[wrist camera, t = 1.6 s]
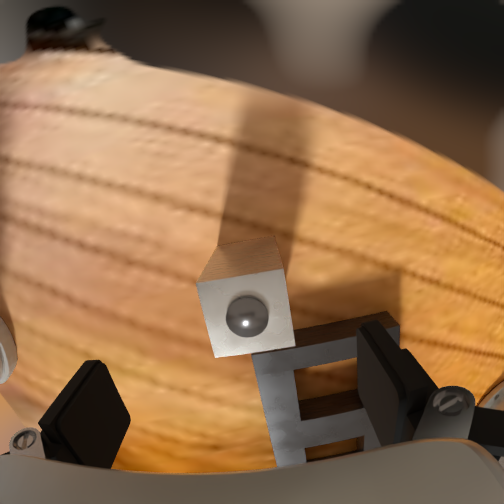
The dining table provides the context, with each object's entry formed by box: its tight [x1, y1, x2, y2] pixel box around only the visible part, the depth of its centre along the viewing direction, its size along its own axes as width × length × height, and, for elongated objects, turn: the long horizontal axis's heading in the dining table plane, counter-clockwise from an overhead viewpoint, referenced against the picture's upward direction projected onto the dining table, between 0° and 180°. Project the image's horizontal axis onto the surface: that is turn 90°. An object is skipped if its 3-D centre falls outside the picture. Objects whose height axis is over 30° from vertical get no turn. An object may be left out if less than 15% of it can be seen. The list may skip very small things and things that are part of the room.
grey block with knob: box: [196, 236, 295, 358], centre depth 21 cm, size 4×4×9 cm
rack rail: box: [251, 311, 400, 467], centre depth 28 cm, size 12×30×3 cm, turn 10°
